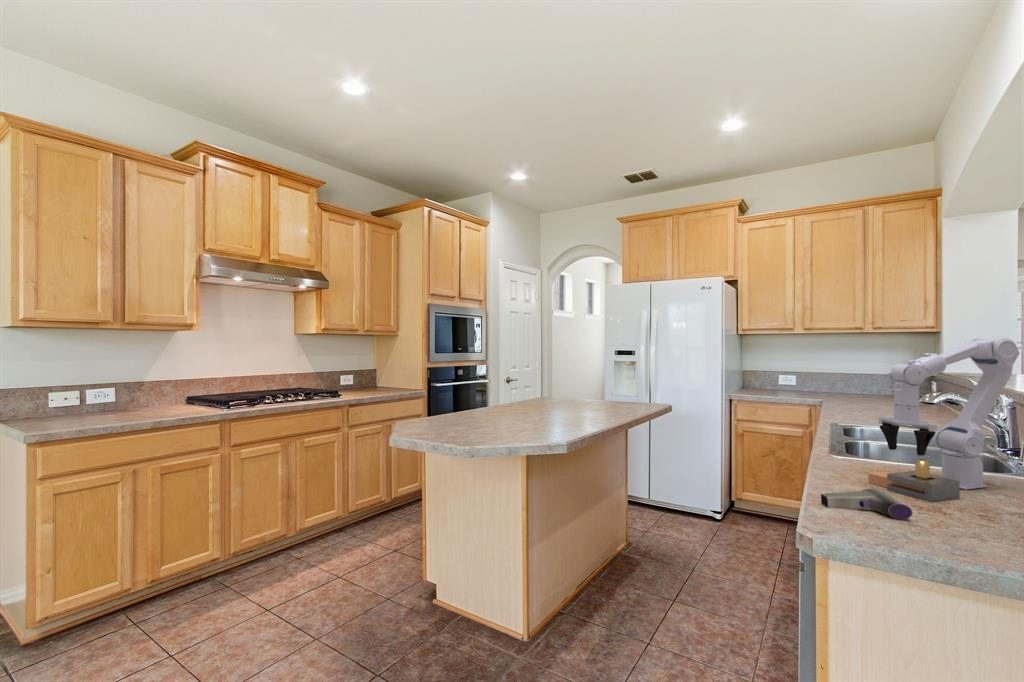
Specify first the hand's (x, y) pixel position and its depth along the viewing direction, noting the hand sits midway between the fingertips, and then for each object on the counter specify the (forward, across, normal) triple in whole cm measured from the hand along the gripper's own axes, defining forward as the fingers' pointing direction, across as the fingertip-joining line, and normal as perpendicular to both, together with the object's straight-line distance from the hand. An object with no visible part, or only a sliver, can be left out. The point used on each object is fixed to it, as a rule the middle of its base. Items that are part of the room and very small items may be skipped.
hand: (906, 452), depth 142 cm
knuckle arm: (+9, +3, -5) cm, 11 cm away
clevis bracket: (+9, +7, -6) cm, 13 cm away
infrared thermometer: (+10, +13, -35) cm, 38 cm away
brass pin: (+9, +8, -6) cm, 13 cm away
